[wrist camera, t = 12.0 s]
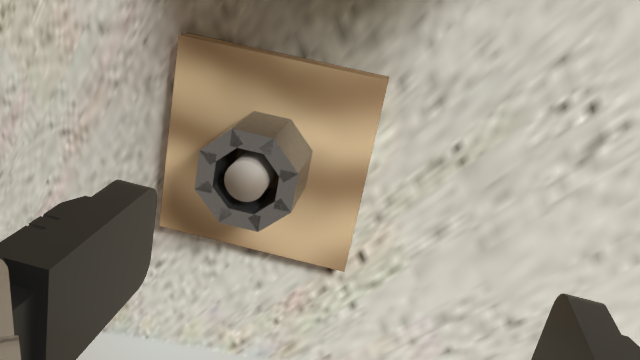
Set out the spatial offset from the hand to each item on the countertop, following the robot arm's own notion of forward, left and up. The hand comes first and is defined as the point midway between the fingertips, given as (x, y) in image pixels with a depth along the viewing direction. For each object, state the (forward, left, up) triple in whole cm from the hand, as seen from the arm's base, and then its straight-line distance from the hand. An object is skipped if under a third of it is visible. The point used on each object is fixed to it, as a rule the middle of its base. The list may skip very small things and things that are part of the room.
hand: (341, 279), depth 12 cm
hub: (+8, -7, -28) cm, 30 cm away
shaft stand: (+8, -7, -29) cm, 31 cm away
